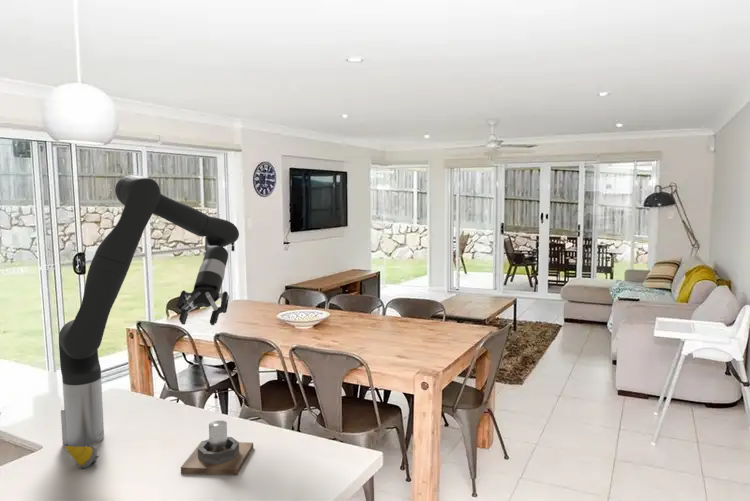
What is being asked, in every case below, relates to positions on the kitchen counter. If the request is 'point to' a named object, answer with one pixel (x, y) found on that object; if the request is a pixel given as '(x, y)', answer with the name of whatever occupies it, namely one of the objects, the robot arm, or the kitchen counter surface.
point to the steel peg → (217, 436)
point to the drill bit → (83, 455)
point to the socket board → (218, 459)
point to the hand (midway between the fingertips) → (197, 323)
